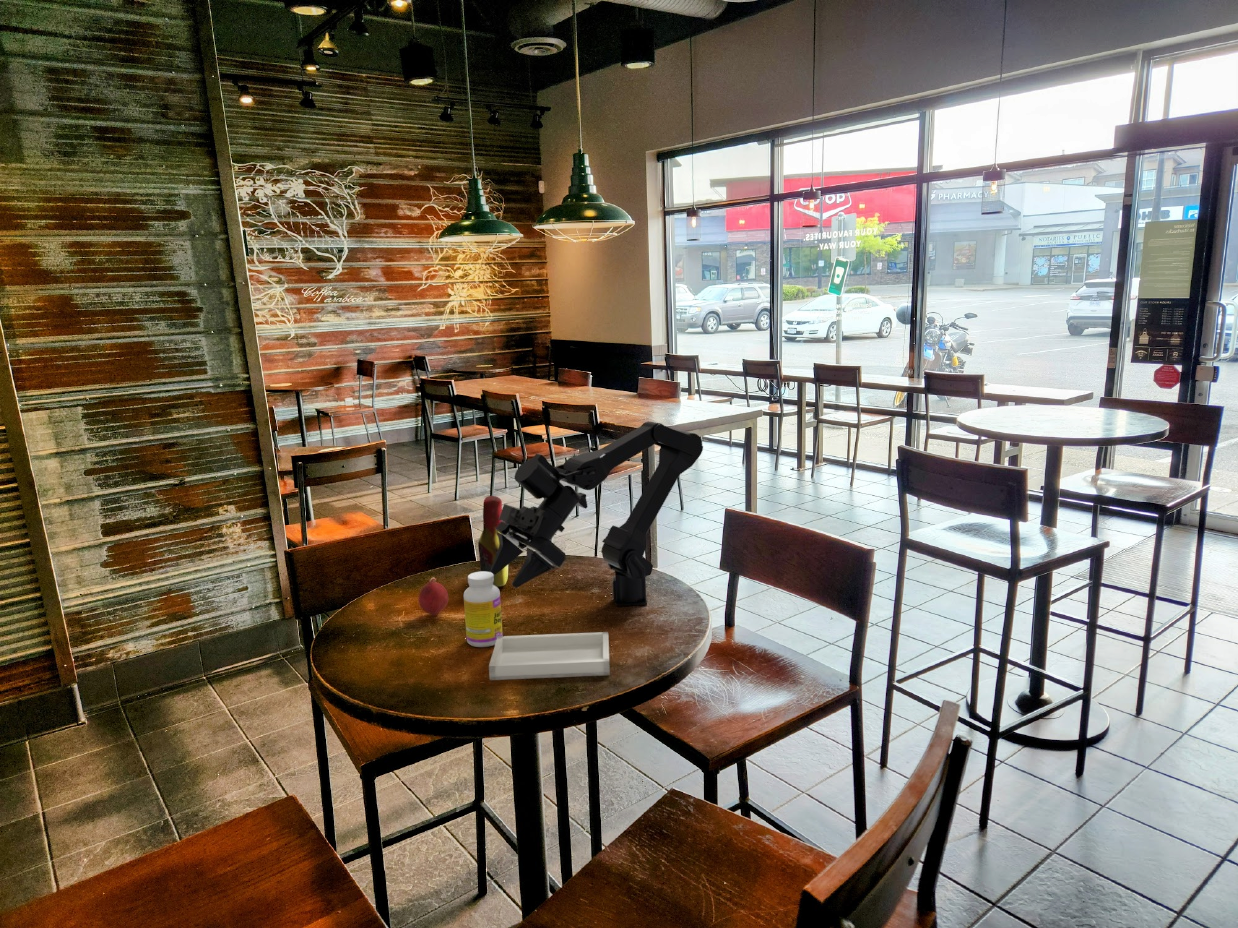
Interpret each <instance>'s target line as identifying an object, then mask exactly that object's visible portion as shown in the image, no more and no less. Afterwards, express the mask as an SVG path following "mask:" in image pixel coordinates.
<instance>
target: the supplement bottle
mask: <svg viewBox="0 0 1238 928" xmlns="http://www.w3.org/2000/svg"><path fill="white" fill-rule="evenodd" d="M493 581H494V575H493V573H491V572H486V571H481V570H480V571H475V572H471V573H470V574H468V575H467V584H468V586H469V587H467V588H466V589H465V590H464V592H463V605H464V622H465V633H466V634H465V635H466V642H467V643H468V644H469V645H470V646H471V647H475V648H488V647H493V646H495V644H496V640H497V637H498V636H503V620H502V605H501V592H500V589H499V587H498V586H494V585H493Z"/></svg>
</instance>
